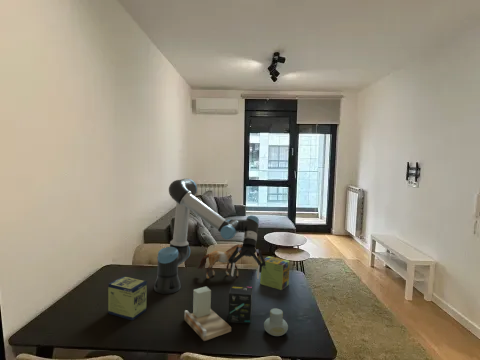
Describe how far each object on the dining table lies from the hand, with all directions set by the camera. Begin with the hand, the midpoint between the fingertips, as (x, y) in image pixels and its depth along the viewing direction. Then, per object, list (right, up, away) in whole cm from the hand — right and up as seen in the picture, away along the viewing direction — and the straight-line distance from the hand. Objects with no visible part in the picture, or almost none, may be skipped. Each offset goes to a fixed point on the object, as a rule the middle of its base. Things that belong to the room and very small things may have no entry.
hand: (244, 276), depth 157 cm
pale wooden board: (-18, -18, -16) cm, 30 cm away
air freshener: (+14, -20, -19) cm, 31 cm away
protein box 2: (+19, -15, +32) cm, 41 cm away
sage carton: (-21, -15, -9) cm, 28 cm away
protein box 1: (-59, -16, -6) cm, 61 cm away
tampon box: (-2, -18, -8) cm, 20 cm away
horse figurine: (-16, -13, +45) cm, 49 cm away
